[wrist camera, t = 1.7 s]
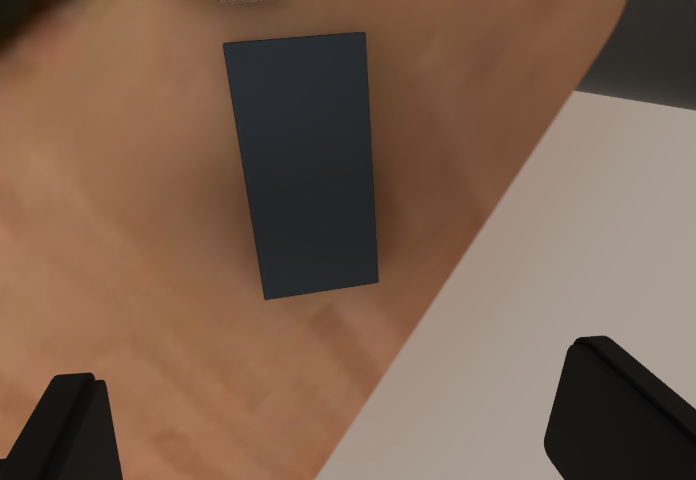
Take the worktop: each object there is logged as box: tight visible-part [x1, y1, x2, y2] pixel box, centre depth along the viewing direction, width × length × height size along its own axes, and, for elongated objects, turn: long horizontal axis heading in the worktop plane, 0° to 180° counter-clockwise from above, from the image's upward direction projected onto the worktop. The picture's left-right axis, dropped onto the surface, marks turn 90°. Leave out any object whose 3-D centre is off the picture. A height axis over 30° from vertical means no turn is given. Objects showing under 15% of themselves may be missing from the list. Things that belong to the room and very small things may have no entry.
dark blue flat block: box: [223, 32, 379, 300], centre depth 25 cm, size 6×13×2 cm, turn 4°
